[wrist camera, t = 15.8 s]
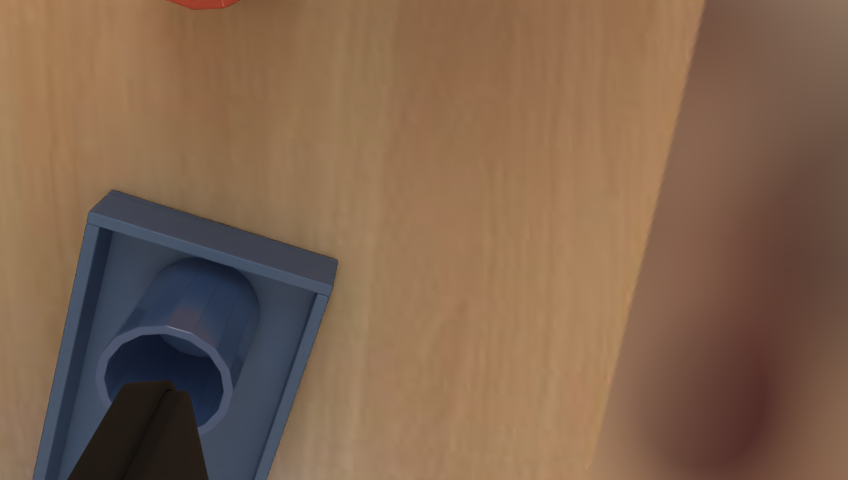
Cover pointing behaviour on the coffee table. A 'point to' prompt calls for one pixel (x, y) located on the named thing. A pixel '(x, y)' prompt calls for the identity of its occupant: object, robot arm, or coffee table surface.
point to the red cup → (204, 3)
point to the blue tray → (122, 287)
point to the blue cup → (185, 337)
